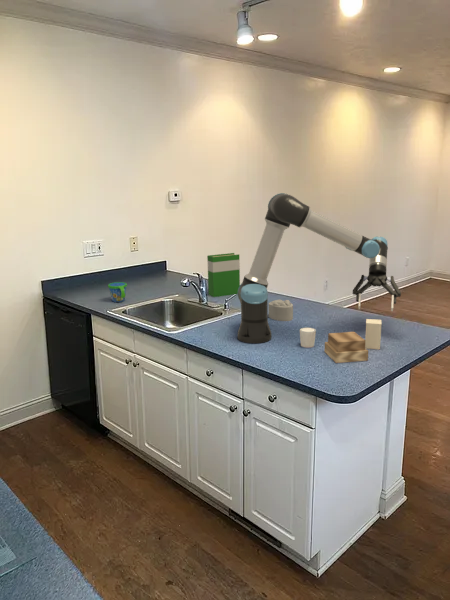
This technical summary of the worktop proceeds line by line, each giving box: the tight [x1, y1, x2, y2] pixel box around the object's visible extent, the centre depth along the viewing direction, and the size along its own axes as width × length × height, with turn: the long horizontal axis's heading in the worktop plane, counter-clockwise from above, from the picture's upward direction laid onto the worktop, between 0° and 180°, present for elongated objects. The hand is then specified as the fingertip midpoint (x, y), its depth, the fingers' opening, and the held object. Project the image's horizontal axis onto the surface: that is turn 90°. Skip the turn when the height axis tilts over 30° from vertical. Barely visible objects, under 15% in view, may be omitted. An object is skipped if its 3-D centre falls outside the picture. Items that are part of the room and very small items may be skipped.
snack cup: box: [107, 281, 128, 303], centre depth 290 cm, size 16×10×10 cm
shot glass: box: [299, 327, 317, 349], centre depth 210 cm, size 7×7×7 cm
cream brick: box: [364, 318, 383, 350], centre depth 207 cm, size 6×6×11 cm
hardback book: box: [206, 252, 241, 298], centre depth 299 cm, size 18×7×24 cm, turn 117°
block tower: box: [323, 331, 369, 364], centre depth 197 cm, size 13×13×8 cm
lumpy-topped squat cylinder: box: [268, 299, 294, 322], centre depth 250 cm, size 10×13×9 cm
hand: (375, 308), depth 214 cm, fingers open, 13 cm apart
